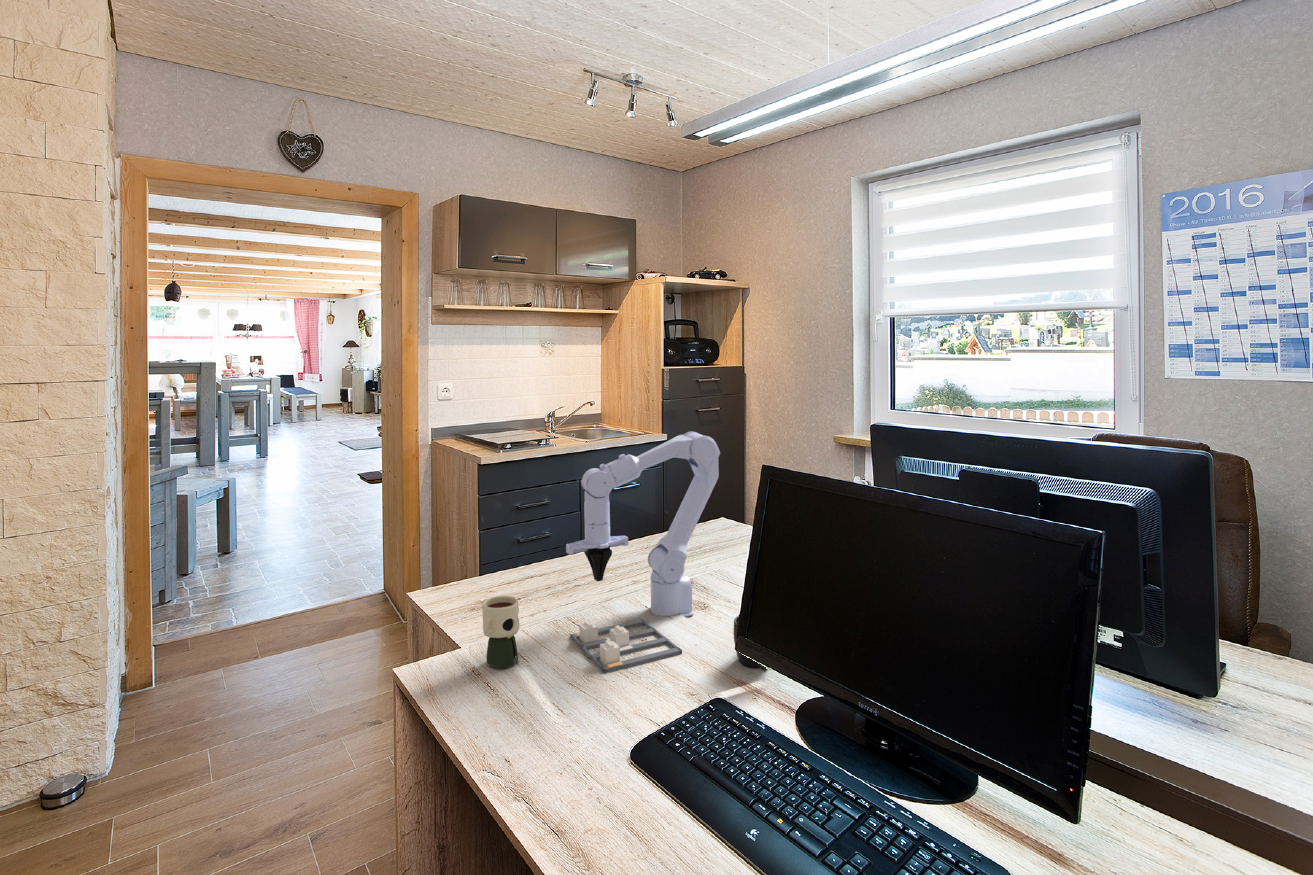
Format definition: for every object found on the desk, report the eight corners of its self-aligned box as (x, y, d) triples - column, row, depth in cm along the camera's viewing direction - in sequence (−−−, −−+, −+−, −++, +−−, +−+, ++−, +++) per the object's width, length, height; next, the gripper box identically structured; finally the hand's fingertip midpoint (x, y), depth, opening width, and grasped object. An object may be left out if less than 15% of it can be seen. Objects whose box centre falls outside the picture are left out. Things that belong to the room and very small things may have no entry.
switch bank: (642, 626, 153) (642, 618, 153) (682, 658, 138) (682, 649, 137) (570, 642, 145) (570, 634, 145) (604, 678, 130) (603, 669, 129)
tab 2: (613, 657, 136) (613, 638, 135) (619, 663, 133) (619, 643, 133) (599, 660, 134) (599, 641, 134) (606, 667, 132) (605, 647, 131)
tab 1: (592, 636, 145) (592, 618, 145) (598, 642, 143) (597, 623, 142) (579, 639, 144) (579, 621, 143) (584, 645, 141) (584, 626, 141)
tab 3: (622, 642, 143) (622, 623, 142) (629, 647, 140) (628, 629, 140) (610, 645, 141) (609, 626, 141) (616, 650, 139) (615, 631, 138)
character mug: (502, 678, 130) (499, 614, 128) (471, 672, 132) (468, 609, 130) (532, 654, 140) (530, 594, 138) (503, 649, 142) (501, 590, 140)
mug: (778, 651, 141) (778, 607, 139) (773, 678, 129) (773, 631, 128) (738, 647, 143) (739, 604, 141) (730, 673, 131) (730, 627, 130)
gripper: (573, 530, 145) (574, 590, 147) (633, 521, 152) (634, 579, 154) (562, 522, 151) (563, 580, 153) (620, 514, 158) (621, 570, 160)
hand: (598, 579), depth 154 cm, fingers closed
